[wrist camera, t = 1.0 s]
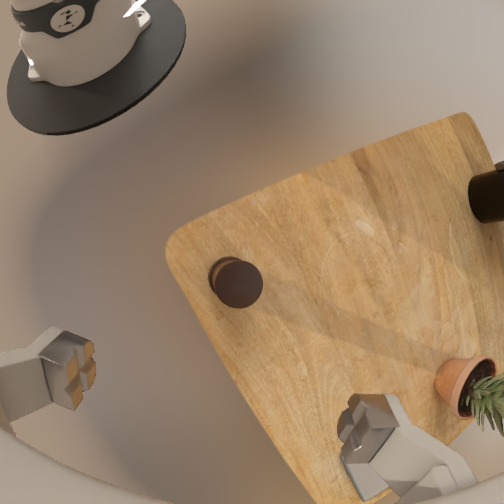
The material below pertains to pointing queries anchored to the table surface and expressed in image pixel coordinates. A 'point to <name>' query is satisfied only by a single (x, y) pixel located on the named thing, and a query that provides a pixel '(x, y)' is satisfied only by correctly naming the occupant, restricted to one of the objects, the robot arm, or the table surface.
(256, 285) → the walnut pestle
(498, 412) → the potted plant
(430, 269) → the table surface
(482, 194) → the black cooking pot
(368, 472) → the smartphone
